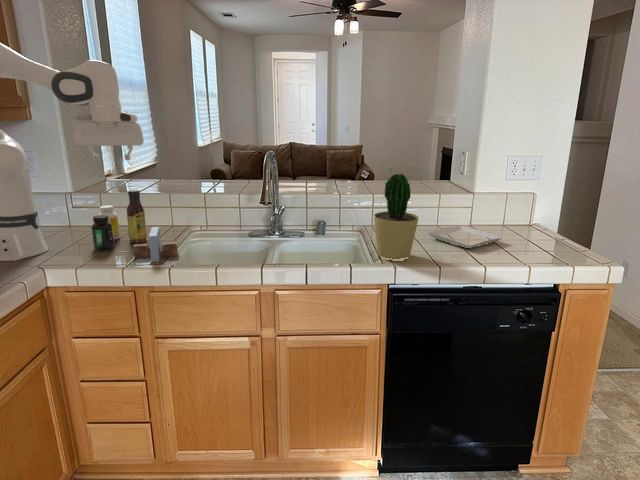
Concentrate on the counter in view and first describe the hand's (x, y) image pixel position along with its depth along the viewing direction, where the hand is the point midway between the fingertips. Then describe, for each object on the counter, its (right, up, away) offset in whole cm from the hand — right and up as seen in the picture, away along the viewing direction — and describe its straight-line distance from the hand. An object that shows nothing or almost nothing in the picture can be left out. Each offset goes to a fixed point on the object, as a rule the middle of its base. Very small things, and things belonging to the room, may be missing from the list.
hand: (112, 159), depth 141 cm
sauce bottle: (-2, -27, +26) cm, 37 cm away
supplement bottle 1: (-15, -26, +30) cm, 42 cm away
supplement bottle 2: (-11, -29, +18) cm, 36 cm away
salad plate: (+126, -27, +33) cm, 133 cm away
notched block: (+11, -32, +10) cm, 35 cm away
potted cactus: (+94, -32, +14) cm, 100 cm away
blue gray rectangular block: (+11, -32, +10) cm, 35 cm away
